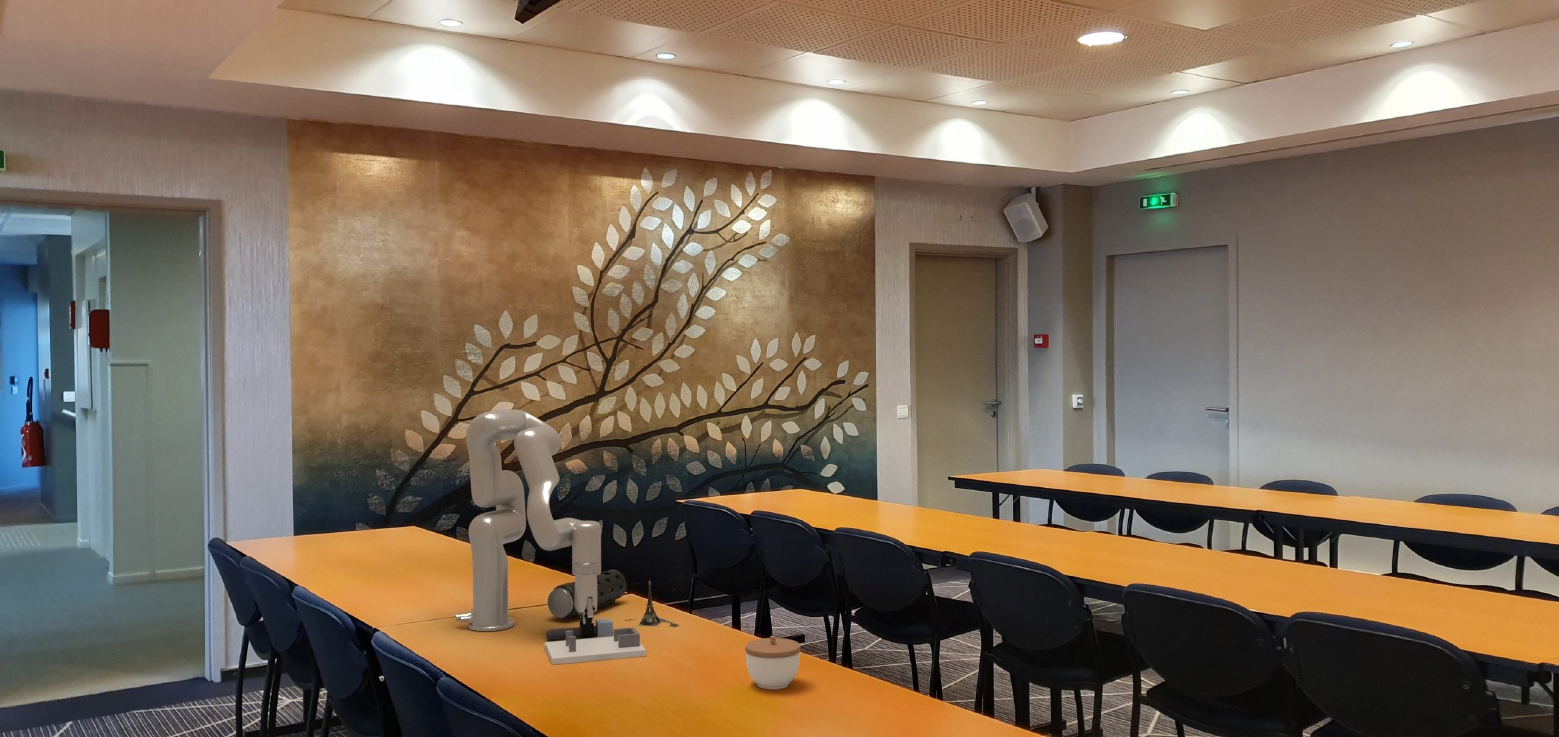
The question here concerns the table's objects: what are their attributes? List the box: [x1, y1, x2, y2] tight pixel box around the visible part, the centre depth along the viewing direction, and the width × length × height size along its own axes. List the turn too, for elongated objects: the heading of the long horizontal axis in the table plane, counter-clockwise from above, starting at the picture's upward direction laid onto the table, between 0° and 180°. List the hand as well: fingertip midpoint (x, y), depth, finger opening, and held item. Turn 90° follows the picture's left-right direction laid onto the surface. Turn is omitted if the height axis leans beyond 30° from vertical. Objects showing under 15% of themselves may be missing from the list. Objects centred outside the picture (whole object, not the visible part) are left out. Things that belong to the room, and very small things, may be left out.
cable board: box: [544, 626, 647, 666], centre depth 278 cm, size 23×16×5 cm
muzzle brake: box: [547, 569, 628, 619], centre depth 322 cm, size 10×28×10 cm, turn 155°
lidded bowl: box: [744, 635, 802, 690], centre depth 250 cm, size 13×13×11 cm
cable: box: [545, 618, 614, 641], centre depth 292 cm, size 17×4×4 cm, turn 109°
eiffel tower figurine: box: [624, 580, 680, 628], centre depth 308 cm, size 15×10×13 cm
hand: (586, 636), depth 293 cm, fingers closed on cable, 2 cm apart
